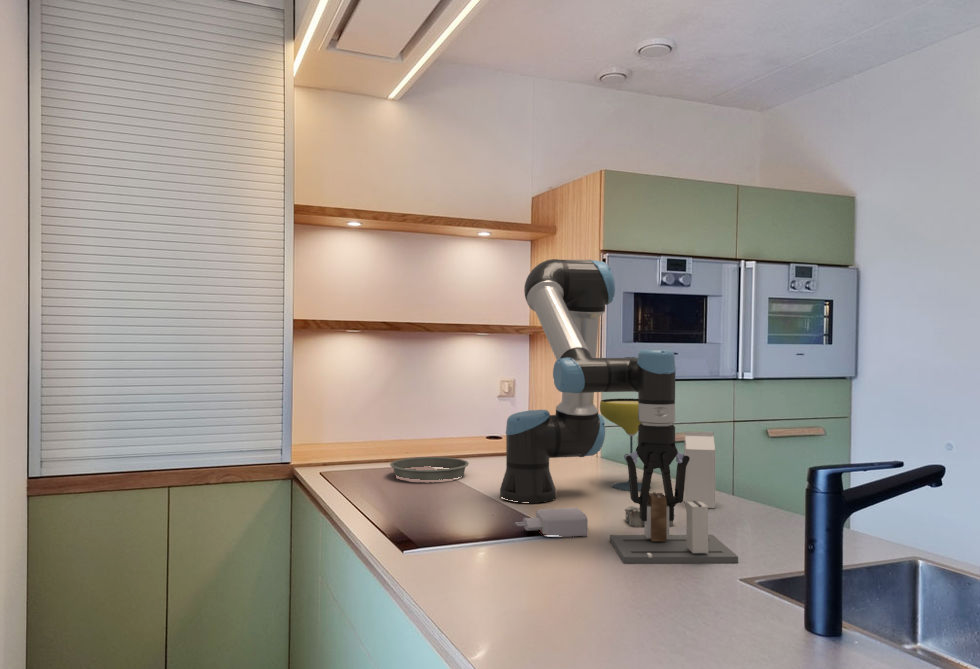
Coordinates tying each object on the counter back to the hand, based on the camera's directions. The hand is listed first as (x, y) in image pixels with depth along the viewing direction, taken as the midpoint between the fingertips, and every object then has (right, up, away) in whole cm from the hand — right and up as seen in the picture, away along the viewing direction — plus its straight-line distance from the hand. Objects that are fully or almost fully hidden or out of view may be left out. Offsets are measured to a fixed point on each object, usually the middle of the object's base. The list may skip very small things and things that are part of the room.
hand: (656, 536), depth 145 cm
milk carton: (+20, -2, +36) cm, 41 cm away
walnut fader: (0, 0, 0) cm, 0 cm away
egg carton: (+3, -3, +19) cm, 19 cm away
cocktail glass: (+6, -3, +58) cm, 58 cm away
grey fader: (+6, 0, -8) cm, 10 cm away
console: (+2, -2, -3) cm, 5 cm away
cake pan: (-54, -3, +74) cm, 91 cm away
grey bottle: (-22, -3, +10) cm, 24 cm away
